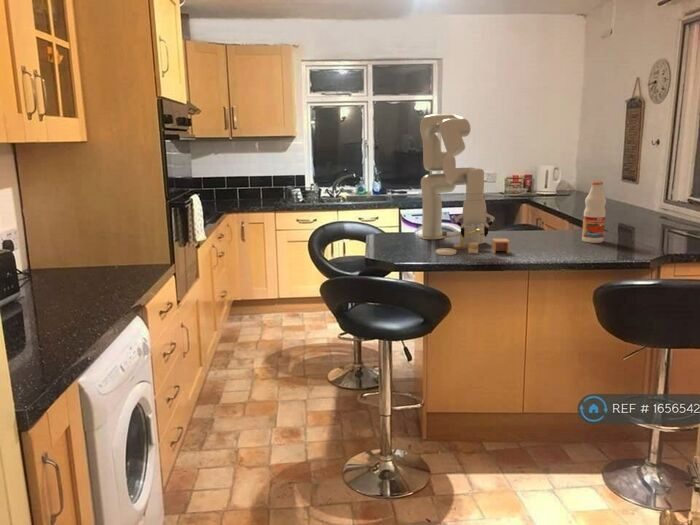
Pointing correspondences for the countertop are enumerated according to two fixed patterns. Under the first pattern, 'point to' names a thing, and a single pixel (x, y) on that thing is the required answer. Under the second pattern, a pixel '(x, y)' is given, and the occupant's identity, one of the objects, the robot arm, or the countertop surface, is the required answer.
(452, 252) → the dish
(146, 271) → the countertop surface
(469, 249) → the block
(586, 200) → the fruit juice
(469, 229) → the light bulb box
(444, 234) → the balance
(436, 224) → the robot arm
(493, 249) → the reddish brown box
